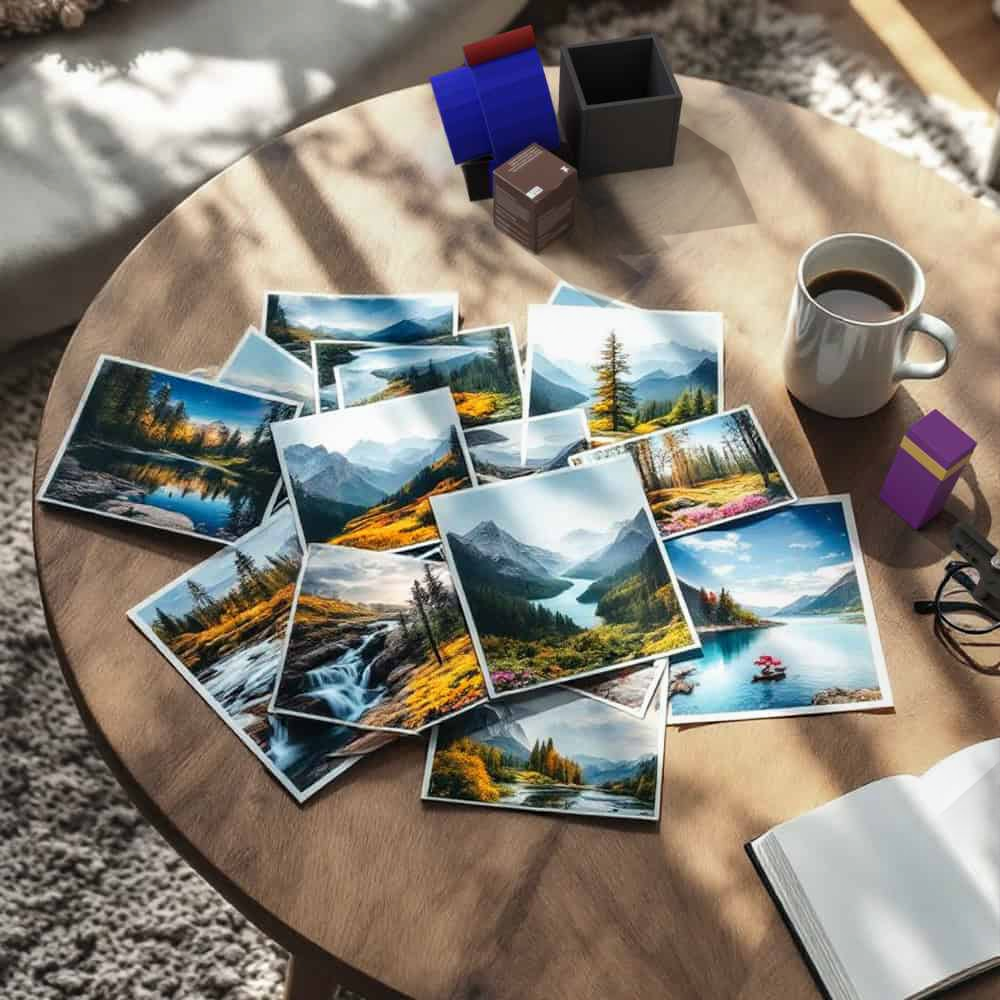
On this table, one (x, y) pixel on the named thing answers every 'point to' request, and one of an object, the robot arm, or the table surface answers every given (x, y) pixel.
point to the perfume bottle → (926, 468)
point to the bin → (618, 105)
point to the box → (534, 197)
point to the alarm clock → (495, 106)
